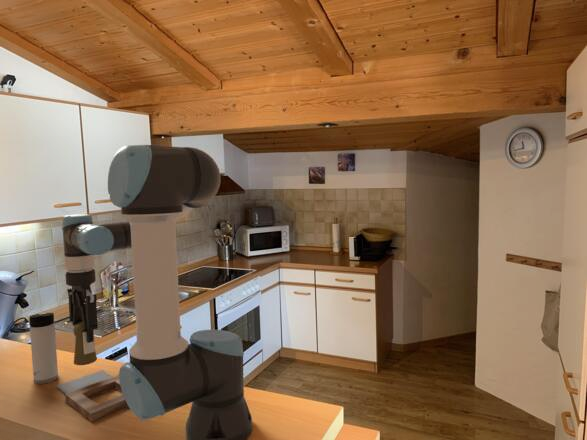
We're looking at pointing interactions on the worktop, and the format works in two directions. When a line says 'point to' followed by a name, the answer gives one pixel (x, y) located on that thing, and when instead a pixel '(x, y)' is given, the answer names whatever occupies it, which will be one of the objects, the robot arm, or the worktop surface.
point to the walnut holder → (87, 406)
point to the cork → (81, 348)
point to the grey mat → (83, 381)
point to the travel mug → (43, 348)
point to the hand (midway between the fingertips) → (84, 349)
